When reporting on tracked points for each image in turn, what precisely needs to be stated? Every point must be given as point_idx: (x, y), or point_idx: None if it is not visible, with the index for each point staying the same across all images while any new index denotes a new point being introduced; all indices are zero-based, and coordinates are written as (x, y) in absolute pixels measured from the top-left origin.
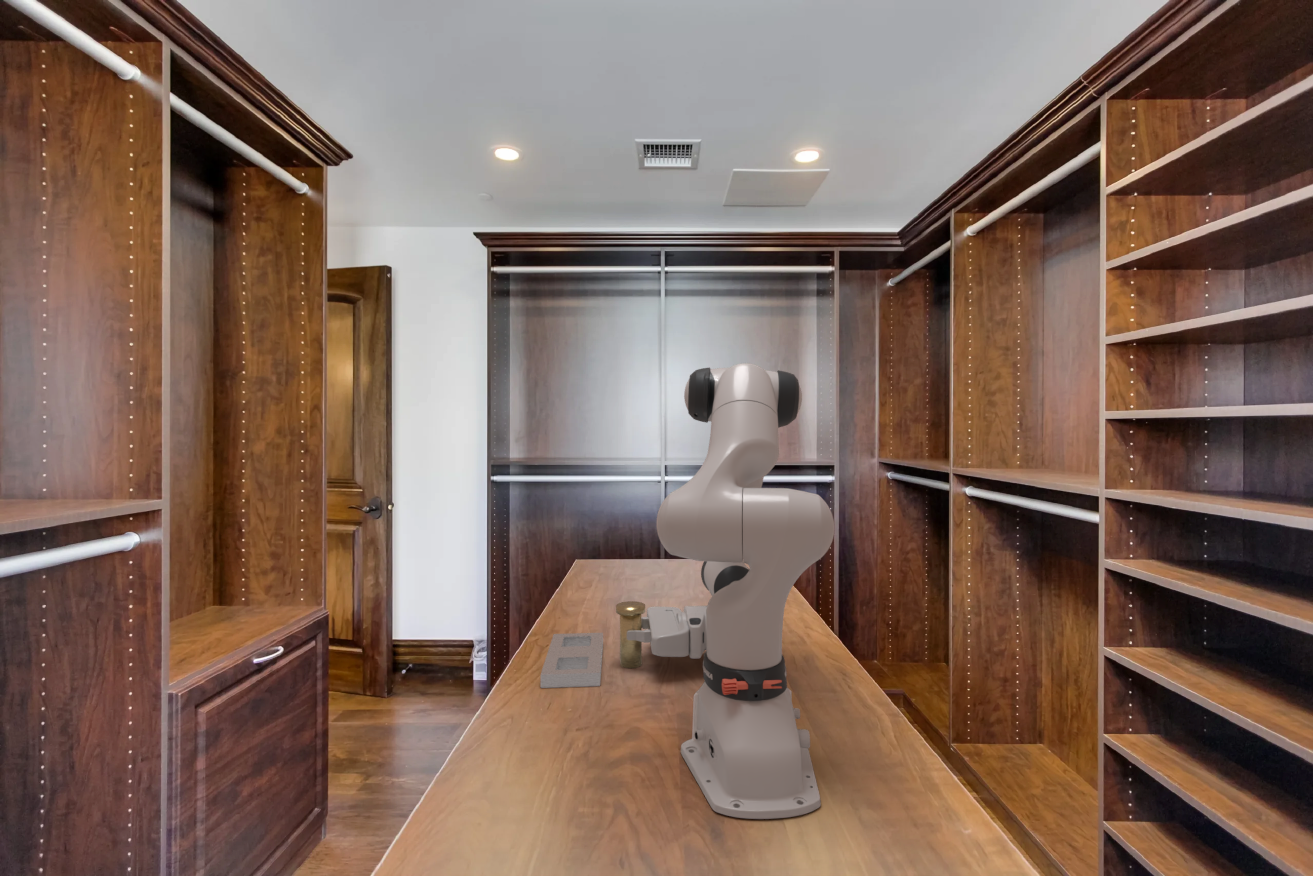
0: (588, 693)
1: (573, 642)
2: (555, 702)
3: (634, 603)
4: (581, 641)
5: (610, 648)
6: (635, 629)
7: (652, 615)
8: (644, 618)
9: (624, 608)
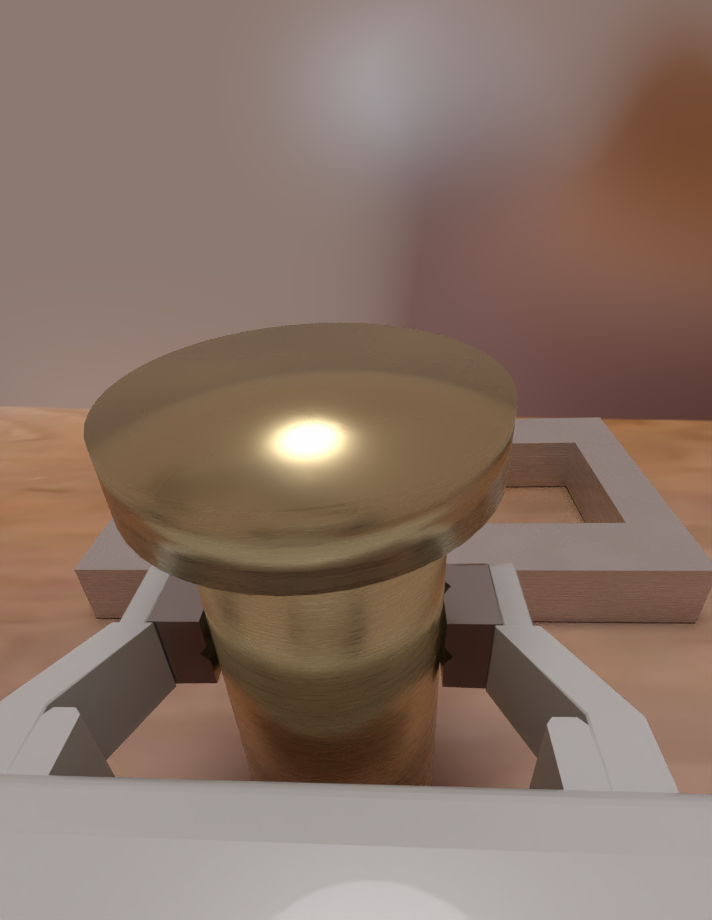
0: (54, 580)
1: (583, 490)
2: (56, 501)
3: (396, 406)
4: (597, 510)
5: (631, 664)
6: (174, 620)
7: (592, 865)
8: (584, 742)
9: (201, 355)
